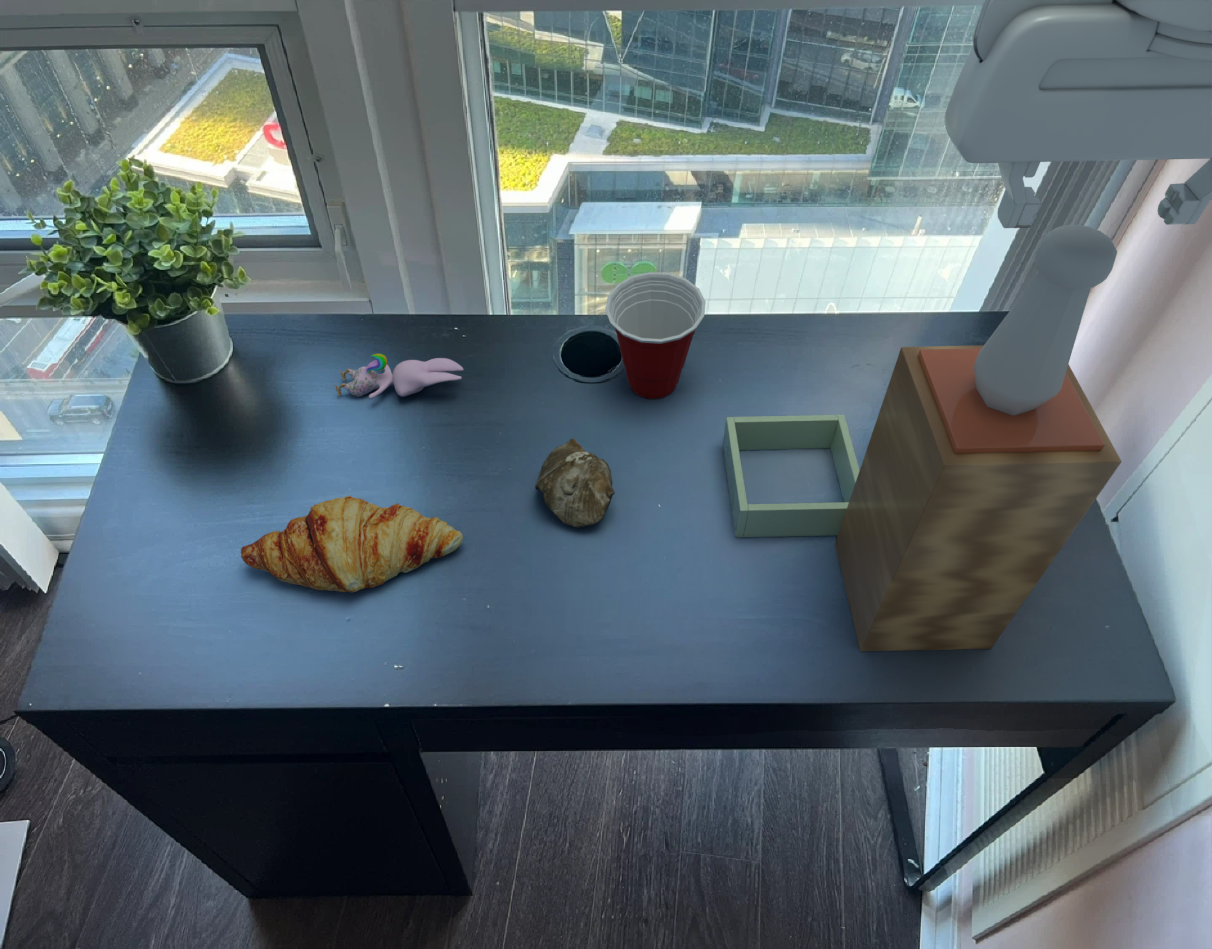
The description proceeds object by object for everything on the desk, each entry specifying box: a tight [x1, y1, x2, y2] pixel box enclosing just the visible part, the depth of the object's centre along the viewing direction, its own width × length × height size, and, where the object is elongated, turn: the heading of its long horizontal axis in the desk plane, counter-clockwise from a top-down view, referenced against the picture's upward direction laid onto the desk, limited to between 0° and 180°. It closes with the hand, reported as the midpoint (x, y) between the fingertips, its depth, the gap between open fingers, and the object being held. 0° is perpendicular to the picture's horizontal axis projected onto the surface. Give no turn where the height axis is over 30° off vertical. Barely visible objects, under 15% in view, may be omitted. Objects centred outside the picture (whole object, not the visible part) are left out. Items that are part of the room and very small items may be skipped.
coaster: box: [918, 348, 1105, 453], centre depth 60 cm, size 10×10×1 cm
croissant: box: [240, 495, 464, 593], centre depth 82 cm, size 21×10×8 cm, turn 98°
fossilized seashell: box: [534, 438, 616, 529], centre depth 87 cm, size 8×7×10 cm
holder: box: [722, 414, 860, 538], centre depth 87 cm, size 13×13×4 cm
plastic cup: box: [604, 271, 707, 400], centre depth 95 cm, size 11×11×12 cm
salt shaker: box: [974, 224, 1118, 416], centre depth 55 cm, size 6×6×13 cm
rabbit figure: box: [334, 353, 464, 400], centre depth 97 cm, size 6×6×15 cm
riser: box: [834, 344, 1122, 652], centre depth 70 cm, size 12×12×26 cm
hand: (1093, 220), depth 49 cm, fingers open, 8 cm apart
